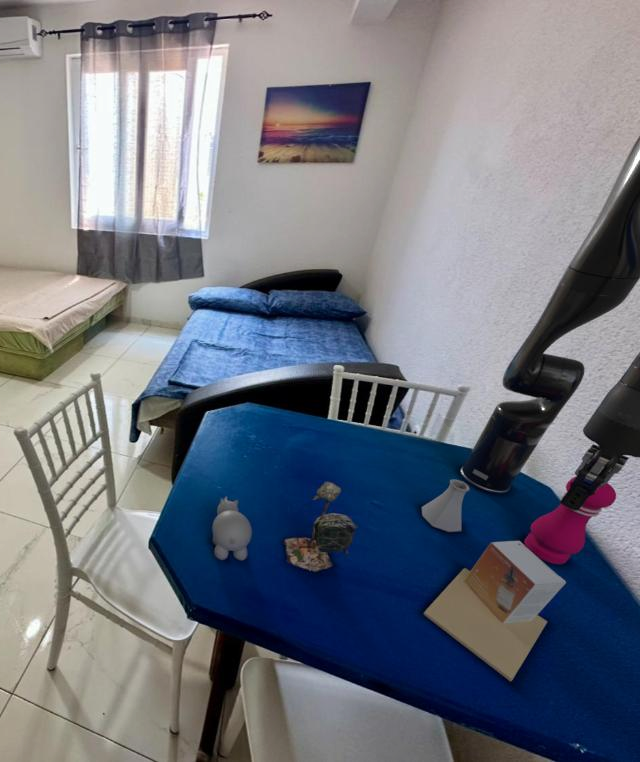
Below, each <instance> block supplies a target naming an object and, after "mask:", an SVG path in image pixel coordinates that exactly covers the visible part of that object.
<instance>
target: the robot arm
mask: <svg viewBox="0 0 640 762" xmlns="http://www.w3.org/2000/svg"><path fill="white" fill-rule="evenodd" d="M639 280H640V134H638V136H637V139H636V140H635V141H634V143H633V145H632V147H631V149H630V151H629V153H628V154H627V156H626V158H625V160H624V162H623V165H622V167H621V169H620V171H619V173H618V175H617V177H616V179H615V181H614V184H613V186H612V187H611V189H610V192H609V194H608V195H607V198H606V200H605V202H604V204H603V206H602V208H601V210H600V212H599V214H598V216H597V217H596V219H595V221H594V223H593V225H592V226H591V228H590V229H589V231H588V233H587V234H586V237H585V238H584V239H583V241H582V243H581V244H580V246H579V248H578V249H577V251H576V253H575V255H574V256H573V258H572V259H571V260H570V261H569V263H568V265H567V267H566V268H565V271H564V273H563V274H562V275H561V278H560V280H559V281H558V283H557V285H556V287H555V289H554V290H553V293H552V294H551V297H550V298H549V300H548V302H547V304H546V306H545V307H544V309H543V311H542V313H541V315H540V316H539V318H538V320H537V322H536V323H535V325H534V326H533V328H532V330H531V331H530V332H529V334H528V335H527V337H526V339H525V340H524V341H523V342H522V344H521V346H520V347H519V348H518V350H517V351H516V353H515V354H514V356H513V357H512V359H511V360H510V362H509V363H508V365H507V367H506V368H505V371H504V374H503V377H502V381H501V382H502V386H503V388H504V389H506V390H507V391H510V392H512V393H516V394H519V395H523V396H527V397H532V398H533V399H532V398H531V399H527V400H508V401H501V402H499V403H498V404H497V405H496V406H495V407H494V409H493V412H492V413H491V415H490V417H489V419H488V420H487V423H486V424H485V426H484V428H483V430H482V431H481V433H480V435H479V437H478V439H477V440H476V443H475V445H474V446H473V448H472V450H471V452H470V453H469V455H468V457H467V458H466V460H465V463H464V464H463V466H462V467H461V468H460V470H459V473H460V476H461V478H463V480H465V482H466V483H468V484H469V485H471V486H473V487H475V488H476V489H478V490H481V491H483V492H487V493H490V494H495V495H504V494H507V493H508V492H509V491H510V489H511V487H512V485H513V483H514V482H515V480H516V479H517V477H518V476H519V474H520V472H521V471H522V469H523V468H524V466H526V465H525V464H526V463H527V461H528V460H529V458H530V457H531V455H532V454H533V452H534V451H535V449H536V448H537V446H538V444H539V443H540V441H541V439H542V438H543V437H544V435H545V433H546V432H547V430H548V429H549V428H550V426H551V425H552V424H553V422H554V421H555V420H556V419H557V417H558V416H559V414H560V412H561V411H562V410H563V408H564V407H565V406H566V405H567V403H568V402H569V400H571V398H572V397H573V395H574V394H575V393H576V391H577V389H579V387H580V384H581V383H582V381H583V379H584V377H585V376H584V375H585V373H586V371H585V369H586V368H585V365H584V364H583V362H581V361H580V360H578V359H574V358H573V359H572V358H568V357H563V356H559V355H555V354H549V353H545V352H546V351H547V350H548V349H549V348H550V347H551V346H552V345H553V344H554V343H555V342H557V341H558V340H559V339H561V338H562V337H564V336H565V335H567V334H569V333H571V332H572V331H574V330H576V329H578V328H579V327H582V326H584V325H586V324H587V323H590V322H592V321H593V320H595V319H597V318H600V317H601V316H603V315H605V314H608V313H610V312H611V311H612V310H614V309H616V308H617V307H618V306H620V305H621V304H623V302H624V301H625V300H626V299H627V298H628V297H629V295H630V293H631V292H632V291H633V289H634V288H635V286H636V285H637V283H638V281H639ZM582 433H583V435H584V436H585V437H586V438H587V439H588V440H589V441H591V442H593V443H592V445H591V446H590V448H588V449H587V451H585V453H584V455H583V456H582V458H581V460H582V462H581V463H580V464H579V466H578V467H577V468H576V469H575V471H574V475H575V476H574V477H575V479H574V481H572V482H571V483H570V485H571V486H570V487H571V488H570V489H569V490H568V492H567V491H566V492H567V493H566V492H565V493H566V494H565V496H564V495H563V496H564V497H563V499H562V500H561V499H560V505H561V504H562V505H564V506H566V507H568V508H570V509H572V510H575V511H578V510H579V509H580V508H581V506H582V505H583V504H584V503H585V501H586V500H587V499H588V497H589V496H591V495H594V494H595V493H596V490H597V489H598V488H599V486H605V485H606V484H607V483H609V481H610V480H611V479H612V477H613V476H614V475H615V474H619V473H620V472H621V470H622V469H623V468H624V466H625V465H626V463H627V462H628V460H630V457H633V458H639V459H640V351H639V352H638V353H637V354H636V355H635V357H634V358H633V360H632V362H630V364H629V366H628V367H627V369H626V370H625V372H624V373H623V374H622V376H621V378H620V379H619V380H618V381H617V383H616V384H615V385H614V386H612V388H611V389H610V390H609V391H608V392H607V394H606V395H605V396H604V398H603V399H602V401H601V402H600V403H599V405H598V406H597V408H596V409H595V411H594V412H593V414H592V415H591V416H590V418H589V419H588V421H587V422H586V424H585V425H584V427H583V428H582ZM576 476H577V477H576Z"/></svg>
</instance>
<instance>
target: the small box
mask: <svg viewBox="0 0 640 762" xmlns="http://www.w3.org/2000/svg"><path fill="white" fill-rule="evenodd" d="M469 571H470V573H469V574H468V575H467V577H466V578H465V580H464V581H465V582H466V583H467V584H468V585H469V586H470V587H471V588H472V589H473V591H474V592H475V593H476V594H477V595H478V596H479V597H480V598H481V600H482V601H483V602H484V603H485V604H486V605H487V606H488V608H489V609H490V610H491V611H492V612H493V613H494V614H495V615H496V617H497V618H498V619H499V621H500V622H501V623H514V622H526V621H532V620H533V619H534V618H535V617H536V616H537V615H538V616H539V614H540V613H541V612H542V611H543V610H544V608H545V607H546V606H547V605H548V604H549V603H550V602H551V600H552V599H554V597H555V596H556V595H557V593H559V591H561V589H562V588H563V587H564V586H565V585H566V583H567V581H566V580H565V579H563V578H562V577H561V576H560V575H558V573H556V572H555V571H554V569H551V567H549V566H548V565H547V564H546V563H545V562H544V561H543V560H542V559H541V558H539V557H537V556H536V555H534V554H533V553H532V552H531V551H530V550H529V549H528V548H527V547H526V545H525V543H524V542H523V543H522V541H520V540H508V541H494V542H493V541H491V542H490V543H489V545H488V546H487V548H486V549H485V550H484V551H483V553H482V554H481V556H480V557H479V559H478V560H477V561H476V563H475V564H474V565H473V567H472V568H471V569H470V570H469Z"/></svg>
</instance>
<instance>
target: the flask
mask: <svg viewBox="0 0 640 762" xmlns="http://www.w3.org/2000/svg"><path fill="white" fill-rule="evenodd" d="M469 491H470V486H469V485H468V484H467V482H465V481H462V480H459V479H456V478H455V479H450V480H449V486H448V487H447V488H446V490H445V491H443V493H441V494H440V495H438V496H437V497H436V498H434V499H433V500H431V501H429V502H427V503H425V504H424V505H423V506H421V515H422V517H423V518H424V519H425V521H426V522H428V523H429V524H430V525H431V526H432V527H434V528H437V529H440V530H442V531H444V532H445V531H446V532H447V533H453V532H454V533H455V532H462V509H463V508H462V507H463V506H462V505H463V502H464V501H463V500H464V497H465V494H466V493H468V492H469Z"/></svg>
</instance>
